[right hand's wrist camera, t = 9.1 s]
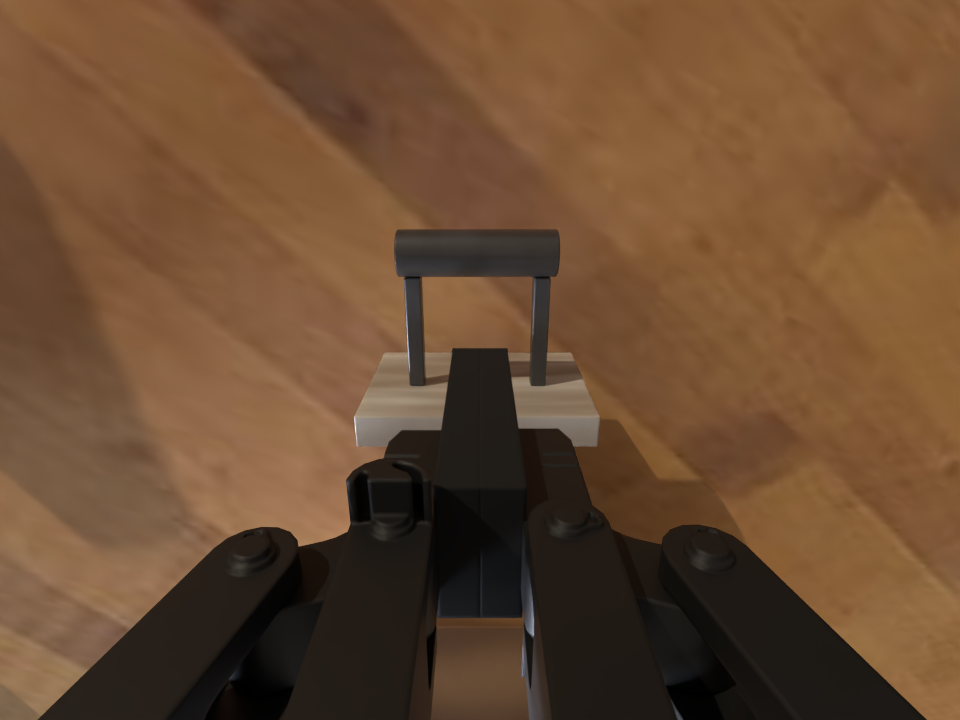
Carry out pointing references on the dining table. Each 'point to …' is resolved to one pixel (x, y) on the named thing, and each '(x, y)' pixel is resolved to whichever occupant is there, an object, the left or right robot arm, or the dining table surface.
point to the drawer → (424, 376)
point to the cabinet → (479, 670)
